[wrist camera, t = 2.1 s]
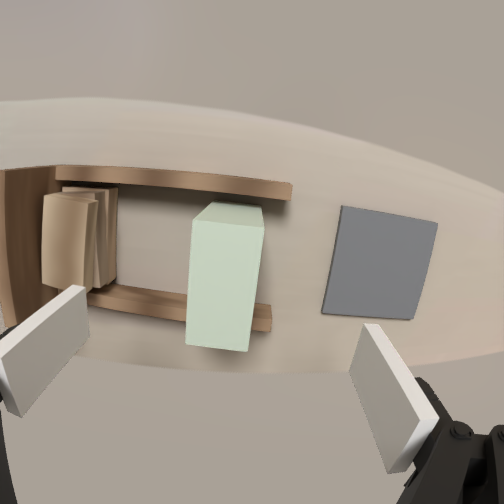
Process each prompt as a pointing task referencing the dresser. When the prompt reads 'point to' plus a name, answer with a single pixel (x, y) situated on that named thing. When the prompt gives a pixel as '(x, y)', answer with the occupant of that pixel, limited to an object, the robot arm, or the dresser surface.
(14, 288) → the rack
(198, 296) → the block
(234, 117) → the dresser surface
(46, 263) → the offcut stack
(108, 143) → the dresser surface
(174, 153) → the dresser surface
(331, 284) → the rubber pad
